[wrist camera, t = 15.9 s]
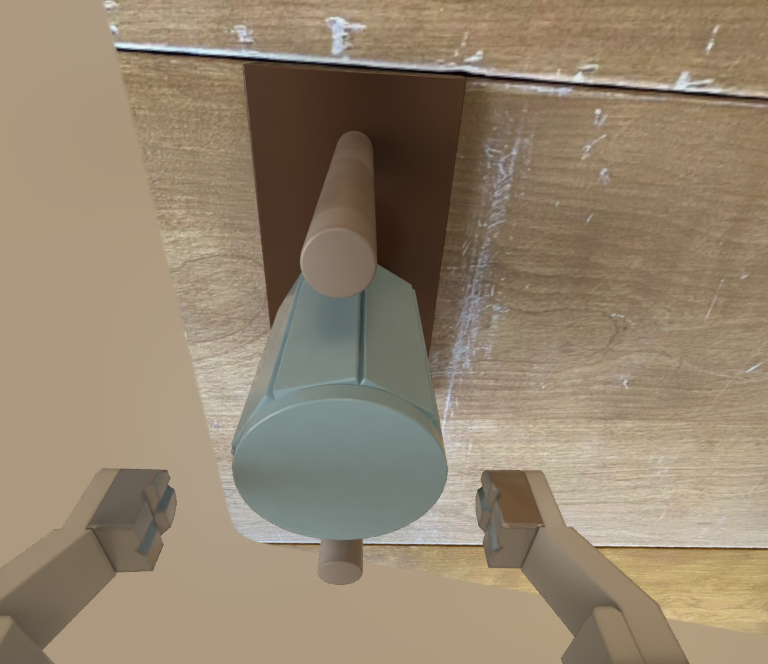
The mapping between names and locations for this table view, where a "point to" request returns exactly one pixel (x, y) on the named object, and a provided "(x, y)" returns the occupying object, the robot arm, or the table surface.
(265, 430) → the blue cup
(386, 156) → the cup rack
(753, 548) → the table surface
